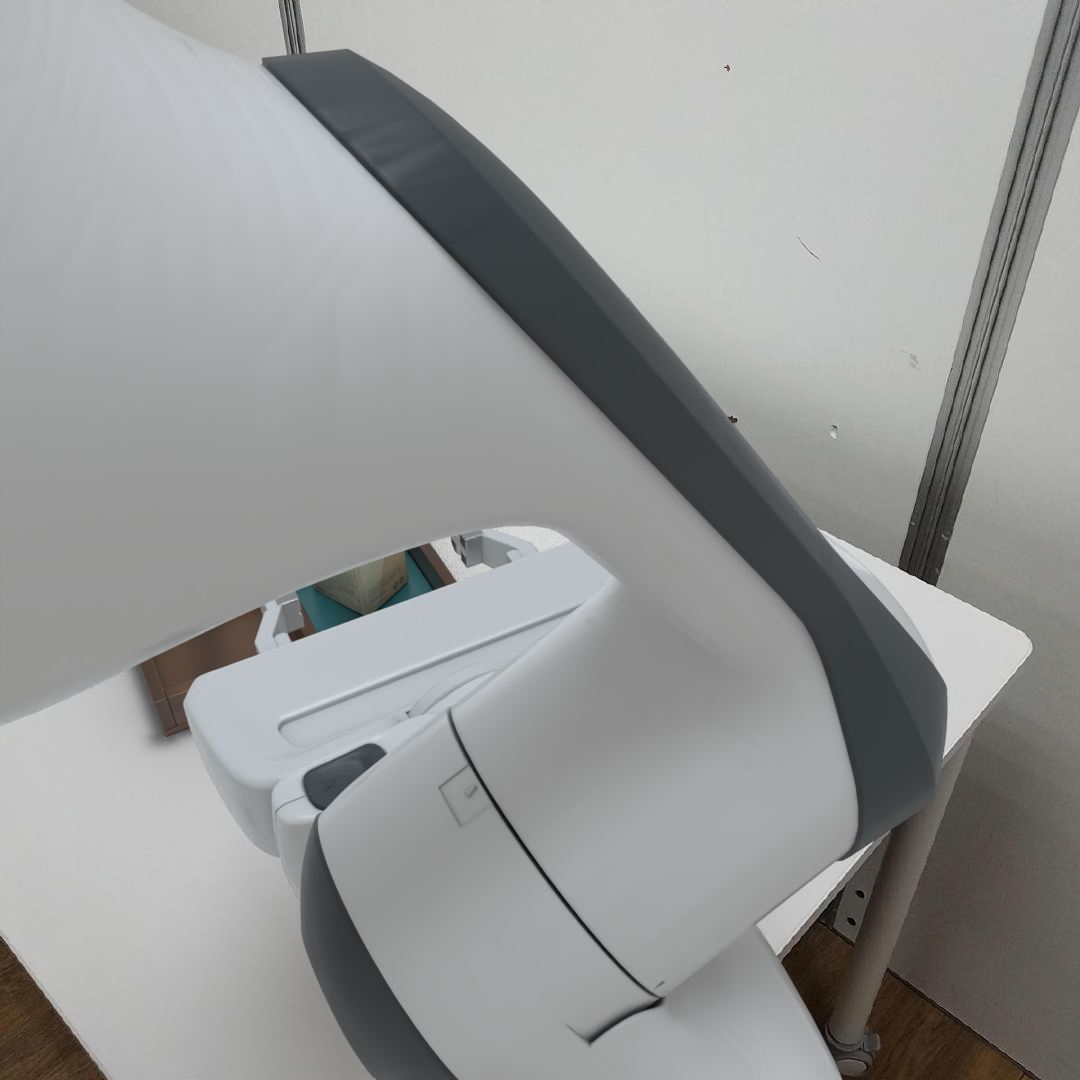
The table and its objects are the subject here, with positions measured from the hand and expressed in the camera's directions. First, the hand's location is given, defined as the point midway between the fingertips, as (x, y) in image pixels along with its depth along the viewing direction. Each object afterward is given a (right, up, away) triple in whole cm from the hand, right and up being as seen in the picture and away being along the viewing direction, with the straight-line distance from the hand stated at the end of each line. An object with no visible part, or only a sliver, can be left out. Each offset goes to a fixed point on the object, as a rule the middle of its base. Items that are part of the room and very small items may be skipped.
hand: (371, 559), depth 52 cm
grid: (-10, -2, +24) cm, 26 cm away
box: (-4, -2, +22) cm, 23 cm away
